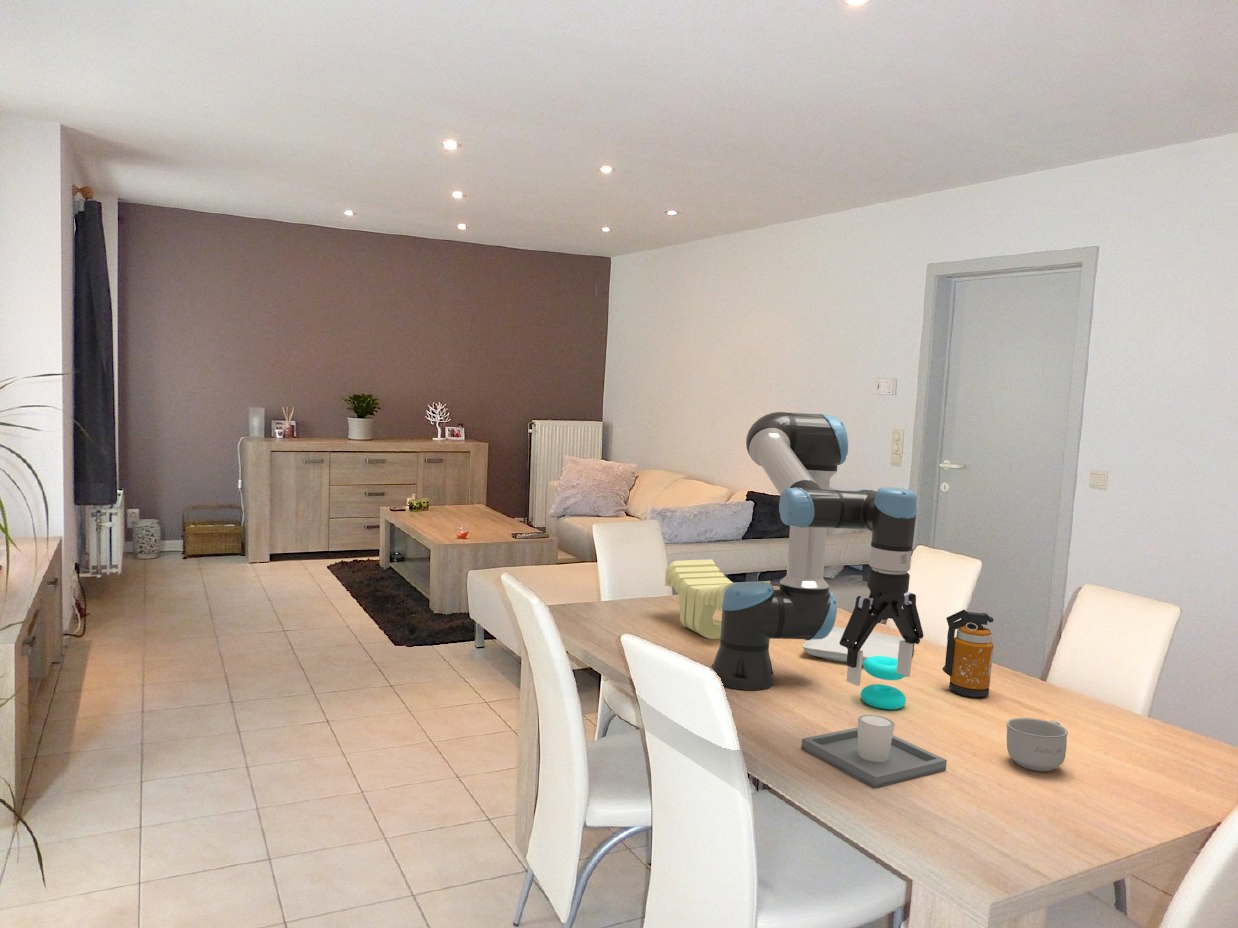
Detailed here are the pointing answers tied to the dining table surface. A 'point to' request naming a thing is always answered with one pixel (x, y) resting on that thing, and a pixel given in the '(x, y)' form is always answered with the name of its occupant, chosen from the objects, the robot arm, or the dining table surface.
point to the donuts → (881, 693)
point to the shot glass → (874, 737)
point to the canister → (969, 653)
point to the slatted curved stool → (699, 594)
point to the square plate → (872, 646)
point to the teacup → (1036, 743)
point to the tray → (899, 766)
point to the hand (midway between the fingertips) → (878, 679)
